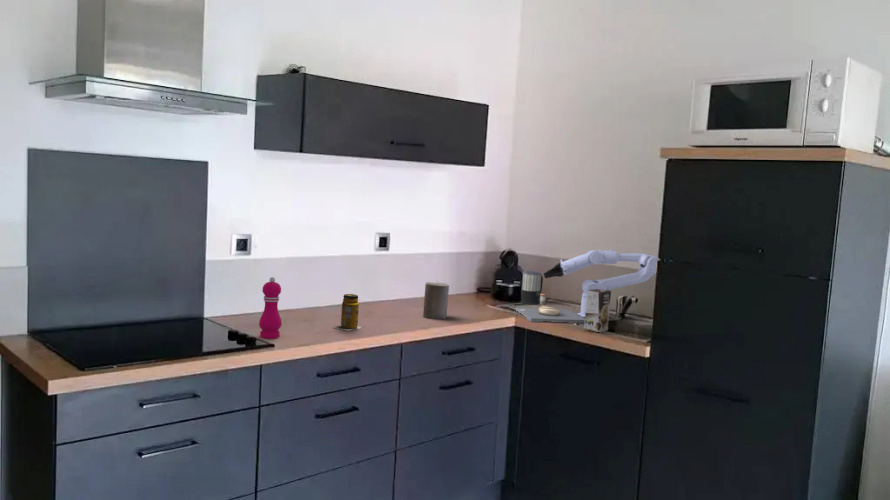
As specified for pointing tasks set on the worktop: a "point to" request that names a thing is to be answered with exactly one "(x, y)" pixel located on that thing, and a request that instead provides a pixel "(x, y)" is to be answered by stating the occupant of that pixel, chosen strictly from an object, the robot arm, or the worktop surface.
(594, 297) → the coffee box
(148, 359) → the worktop surface
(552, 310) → the cam dial
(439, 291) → the pillar candle
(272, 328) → the pepper mill
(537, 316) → the stand board
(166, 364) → the worktop surface
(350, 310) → the condiment
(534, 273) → the milk frother
